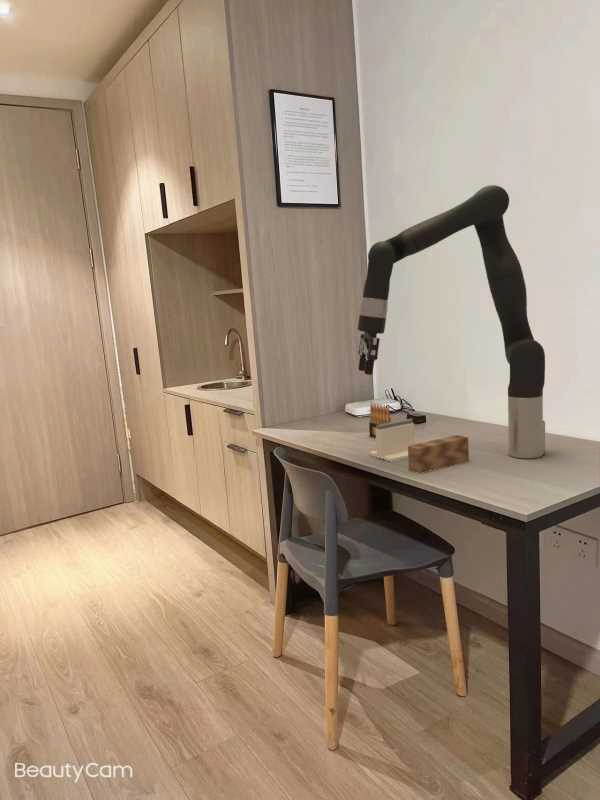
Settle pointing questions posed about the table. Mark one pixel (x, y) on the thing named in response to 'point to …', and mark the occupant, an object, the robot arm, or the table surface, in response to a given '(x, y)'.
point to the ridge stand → (394, 440)
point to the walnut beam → (438, 453)
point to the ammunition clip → (378, 417)
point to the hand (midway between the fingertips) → (365, 372)
